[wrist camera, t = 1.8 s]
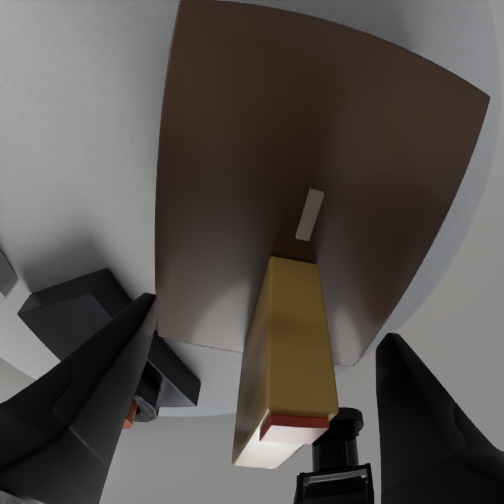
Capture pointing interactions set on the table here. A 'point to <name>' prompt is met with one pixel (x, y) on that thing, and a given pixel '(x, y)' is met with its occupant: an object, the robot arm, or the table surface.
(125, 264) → the table surface
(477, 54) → the table surface
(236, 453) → the block
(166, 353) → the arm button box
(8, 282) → the intercom
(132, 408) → the arm button
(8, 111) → the table surface
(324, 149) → the brown box with slot
